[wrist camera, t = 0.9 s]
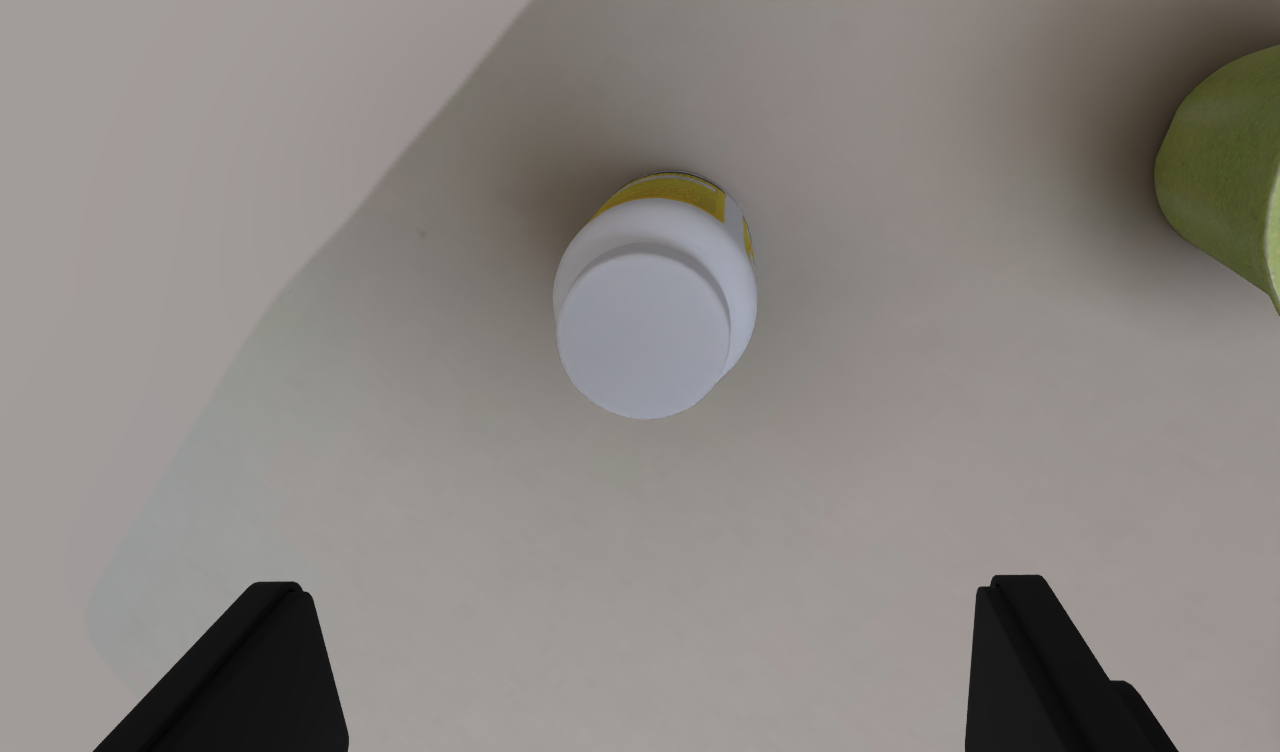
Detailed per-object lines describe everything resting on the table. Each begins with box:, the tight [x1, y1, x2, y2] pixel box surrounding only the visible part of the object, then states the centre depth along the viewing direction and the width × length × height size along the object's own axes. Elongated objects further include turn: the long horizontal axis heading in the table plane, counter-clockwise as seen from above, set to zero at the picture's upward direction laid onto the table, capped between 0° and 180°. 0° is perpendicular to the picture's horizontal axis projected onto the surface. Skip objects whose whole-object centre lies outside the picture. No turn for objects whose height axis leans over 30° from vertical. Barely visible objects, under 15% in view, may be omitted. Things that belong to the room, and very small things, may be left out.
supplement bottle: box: [553, 171, 758, 419], centre depth 22 cm, size 5×5×10 cm
